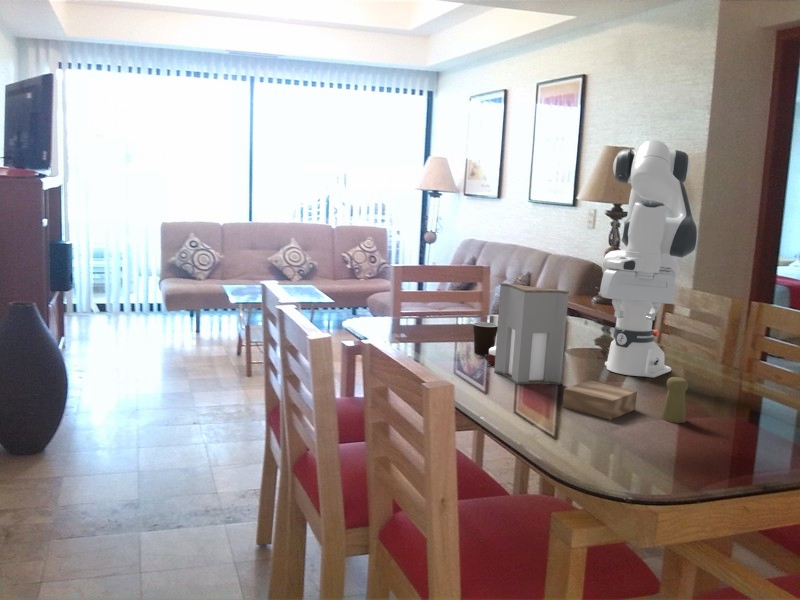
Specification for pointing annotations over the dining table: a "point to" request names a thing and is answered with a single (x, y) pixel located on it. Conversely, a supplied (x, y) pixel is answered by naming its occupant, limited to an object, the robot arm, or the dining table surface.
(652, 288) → the robot arm
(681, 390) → the cork
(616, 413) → the wooden block
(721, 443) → the dining table surface
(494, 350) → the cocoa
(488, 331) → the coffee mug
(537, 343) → the cabinet
